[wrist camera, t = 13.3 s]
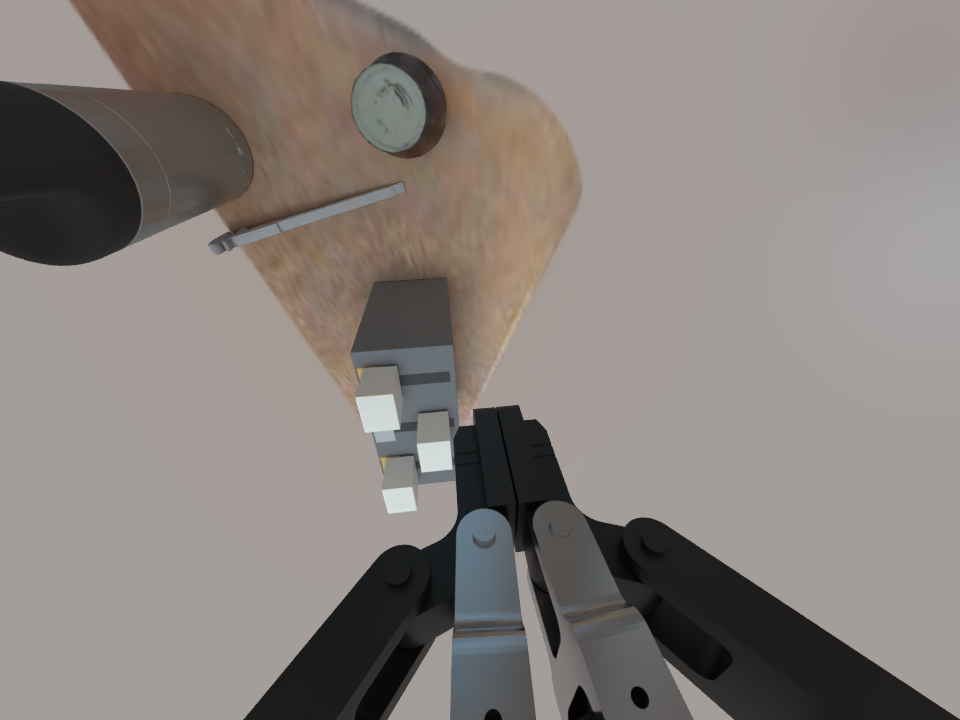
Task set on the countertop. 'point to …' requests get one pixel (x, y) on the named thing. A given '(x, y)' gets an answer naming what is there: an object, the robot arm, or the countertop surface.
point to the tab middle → (434, 441)
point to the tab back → (400, 484)
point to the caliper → (301, 219)
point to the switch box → (411, 360)
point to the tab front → (380, 399)
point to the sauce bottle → (399, 105)
